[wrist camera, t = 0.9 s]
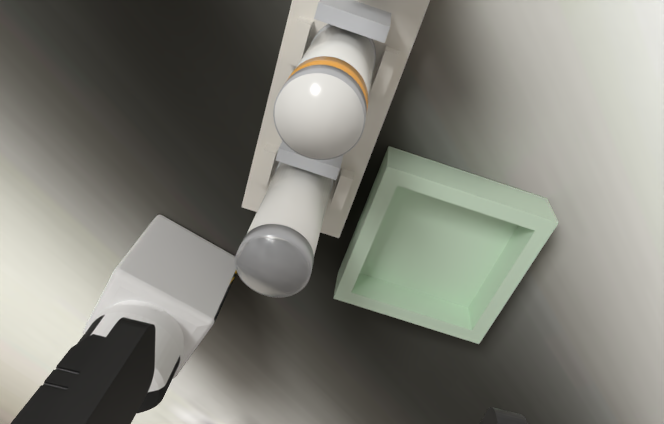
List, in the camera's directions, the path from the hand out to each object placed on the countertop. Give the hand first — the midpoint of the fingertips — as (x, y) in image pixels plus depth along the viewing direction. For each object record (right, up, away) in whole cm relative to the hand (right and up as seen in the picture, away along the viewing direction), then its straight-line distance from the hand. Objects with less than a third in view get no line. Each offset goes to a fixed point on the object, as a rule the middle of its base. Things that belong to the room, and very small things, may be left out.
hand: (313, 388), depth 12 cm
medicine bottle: (-11, 0, +28) cm, 31 cm away
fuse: (-1, +7, +21) cm, 22 cm away
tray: (+8, +2, +24) cm, 25 cm away
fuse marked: (+1, +13, +17) cm, 21 cm away
